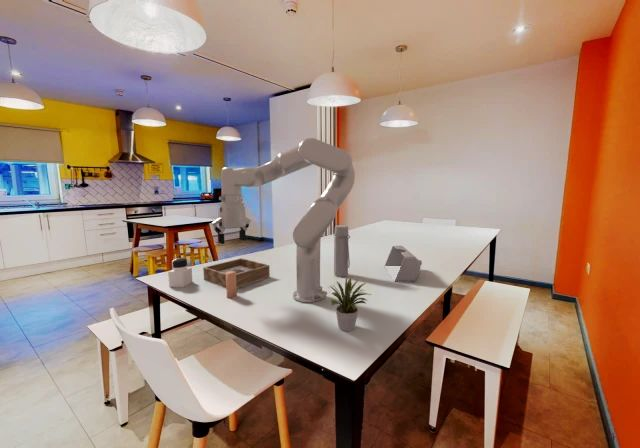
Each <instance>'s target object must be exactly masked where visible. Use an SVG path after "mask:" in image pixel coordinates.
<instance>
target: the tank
mask: <svg viewBox="0 0 640 448" xmlns="http://www.w3.org/2000/svg"><path fill="white" fill-rule="evenodd" d="M422 264H423V263H422V260H421V259H418V258H417V257H416V256H415V255H414V254H413V253H412V252H410V250H408V249H407V248H406V247H404V246H403V245H393V246H392V247H391V249H390V252H389V253H388V257H387V259H386V261H385V264H384V267H385V266H401V267H400V270H399V272H398V274H397V277H396V279H395V281H414V282H415V281H416V280H417V279H418V277H419V276H420V275H421V266H422Z"/></svg>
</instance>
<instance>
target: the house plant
mask: <svg viewBox="0 0 640 448" xmlns="http://www.w3.org/2000/svg"><path fill="white" fill-rule="evenodd" d="M358 281H359V279H358V280H356V281H355V282H354V283H352V277H350V278H349V279H348V277H346V278H345V283H344V288H343V287H342V285H341V283H340V282H338V281H336V283H335V282H334V284H336V285H337V286H338V288H339V289H337V287H335V285H333V284H332V285H329V288H330V289H332V290H333V291H334V292H332V293H331V294H332V295H333V296H335V298H337V299H338V300H339V301H337V300H334V299H332V300H331V302H330V304H331V306H334V305H337V306H336V308H335V312H336V313H335V314H336V320H337V324H338V325H337V326H338V329H339V330H340V331H342V332H352V331H354V330H355V329H354V328H356V324H357V323H356V322H357V318H358V313H359V309H358V307H357V306H356V305H357V304H366V305H367V303H366V302H368V299H366V298H364V297H360V296H364V295H369V296H370V295H372V293H367V292H365V291H363V289H361V288H362V287H363V286H364V285H366V284H367V282H366V283H365V282H364V283H362V284H360V285H359V286H358V287H356V288H355V290H354V291H353V289H354V287H355V286H356V284H357V283H358ZM339 290H340V291H339Z"/></svg>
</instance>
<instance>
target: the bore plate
mask: <svg viewBox="0 0 640 448" xmlns="http://www.w3.org/2000/svg"><path fill="white" fill-rule="evenodd" d="M249 270H252V269H250V268H247V267H243V266H237V267H233V268H229V269H226V270H222V271H219V272H222V273H225V274H226V272H229V271H235V272H236V274H239V273H242V272H246V271H249Z"/></svg>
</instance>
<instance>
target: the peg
mask: <svg viewBox="0 0 640 448" xmlns="http://www.w3.org/2000/svg"><path fill="white" fill-rule="evenodd" d="M237 289H238V288H237V286H236V272H235V271H229V272H226V288H225V290H226V292H225V293H226V298H227V299H234V298H237V297H238V292H237V291H238V290H237Z"/></svg>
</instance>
